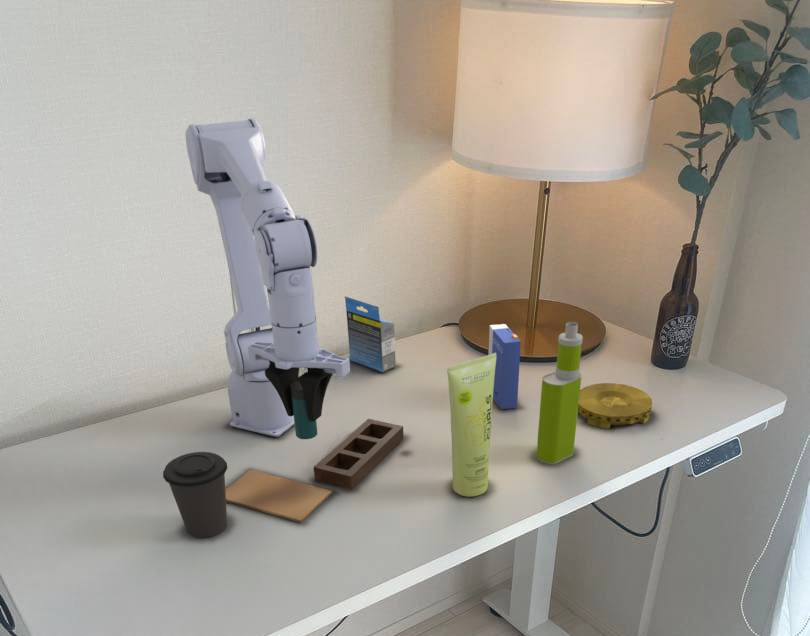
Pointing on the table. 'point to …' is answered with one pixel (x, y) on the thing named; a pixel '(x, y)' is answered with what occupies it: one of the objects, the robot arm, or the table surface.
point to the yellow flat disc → (614, 404)
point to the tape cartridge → (370, 336)
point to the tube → (471, 423)
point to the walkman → (505, 365)
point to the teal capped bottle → (301, 413)
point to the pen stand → (356, 461)
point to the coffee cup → (199, 492)
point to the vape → (560, 400)
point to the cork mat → (276, 495)
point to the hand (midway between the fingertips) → (304, 415)
